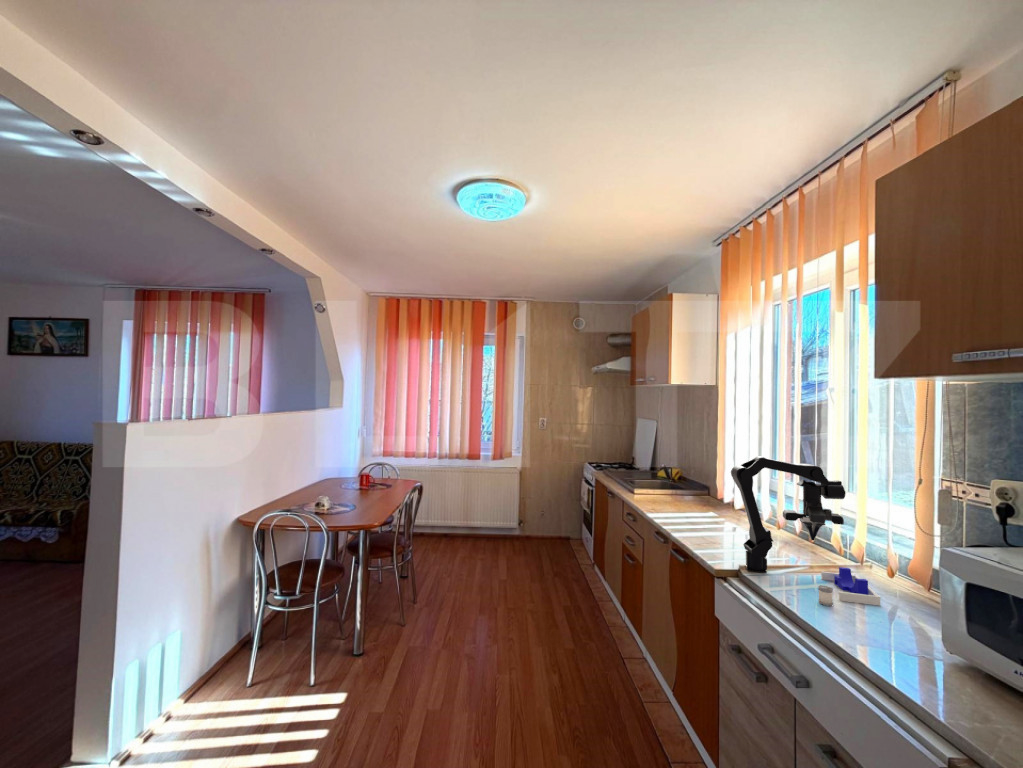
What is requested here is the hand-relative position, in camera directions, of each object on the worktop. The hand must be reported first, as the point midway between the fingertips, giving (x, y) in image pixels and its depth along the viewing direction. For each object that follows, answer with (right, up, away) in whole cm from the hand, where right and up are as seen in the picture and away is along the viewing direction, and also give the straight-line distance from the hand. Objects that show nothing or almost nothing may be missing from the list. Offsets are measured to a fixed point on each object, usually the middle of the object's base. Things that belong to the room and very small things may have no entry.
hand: (812, 540), depth 177 cm
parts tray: (+1, -11, -17) cm, 21 cm away
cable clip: (+2, -12, -17) cm, 21 cm away
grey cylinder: (-13, -11, -28) cm, 33 cm away
